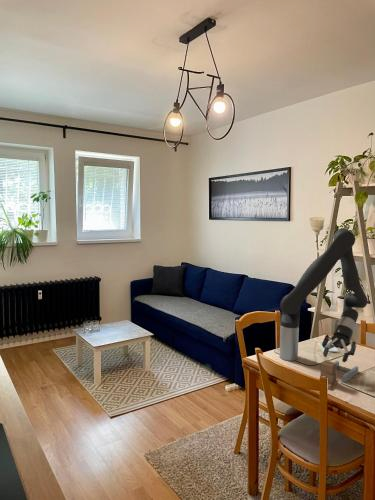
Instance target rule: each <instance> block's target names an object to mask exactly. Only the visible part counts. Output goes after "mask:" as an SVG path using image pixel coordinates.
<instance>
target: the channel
mask: <svg viewBox="0 0 375 500" xmlns="http://www.w3.org/2000/svg"><path fill="white" fill-rule="evenodd" d="M334 362H335V363H337V370H339V371H342V372H345V373H344V375H343V376H342V377H341V378H342V379H341V381H342V383H346V382H347V381H349V380H350V379H351V378H352V377H353V376H355V375H356V374H357V373H358V372H359V366H357V365H355V366H353V368H348V367H345V366H341V365H340V361H339V360H335V361H334ZM348 379H349V380H348Z"/></svg>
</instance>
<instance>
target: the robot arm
mask: <svg viewBox="0 0 375 500" xmlns="http://www.w3.org/2000/svg"><path fill="white" fill-rule="evenodd" d="M332 239H333V240H332V242H331V244H330V245H329V246H328V247H327V249H325V251H324V252H323V253H322V254H320V256H319V257H317V258H316V259H315V260H314V261H312V262H311V264H310V265H309V266H308V267H307V268H306V269H305V271H304V273H303V274H302V276H301V277H300V279H299V280H298V282H297V284H296V285H295V287H294V288H293V289H292V290H291V291H290V292H289V293H288V294H286V295H285V296H283V297H282V300H281V301H280V310H281V317H280V332H279V334H280V335H279V356H278V357H279V358H280V359H281V360H284V361H288V362H292V361H293V362H294V361H297V360H298V357H299V355H298V354H299V336H300V335H299V333H300V332H299V331H300V328H299V327H300V317H301V316H300V315H301V305H302V304H303V303H304V301H305V300H306V298H307V297H308V296H309V295H310V294H312V293H313V291H314V290H316V288H317V287H318V286H319V285H320V284H321V283H322V282H323V281H324V279H325V278H326V277H327V276H328V275H329V274H330V272H331V271H332V270H333V268H334V267H335V265H336V264H337V262H338V261H340V264H341V265H340V266H341V271H342V278H343V283H344V288H345V289H346V290H348V291H351V292H347V293H346V294H345V295H344V297H343V306H342V307H343V309H342V313H341V315H340V318H339V320H338V321H337V325H336V327H335V330H334V331H333V332H334V333H333V335H332V336H330V335H328V334H326V335H325V337H324V338H323V341H322V342H321V343H322V346H323V348H325V349H324V352H323V351H322V355H323V357H324V358H327V357H328V352H329V349H331V348H334V347H336V348H337V349H341V350H343V349H344V354H343V356H342V359H341V361H342V363H346V362H348V359H349V357H350V356H354V355H355V353H356V349H357V343H356V341H354V340H353V341H351V339H352V336H353V335H354V331H355V328H356V324H357V321H358V318H359V312H358V311H357V310H356V309H365V308H366V307H367V304H368V297H367V294H366V292H365V291H364V289H363V286H362V285H361V281H360V276H359V271H358V266H357V264H356V261H355V256H354V252H353V246H354V245H355V243H356V236H355V234H354V233H353V232H352V231H351V230H349V229H347V228H339V229H337V230H336V231H335V233H334V234H333V238H332ZM354 308H356V309H354ZM327 343H329V344H327ZM332 344H333V345H332ZM348 346H351V347H350V350H349V349H348V348H347V347H348Z"/></svg>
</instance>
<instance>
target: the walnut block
mask: <svg viewBox="0 0 375 500" xmlns="http://www.w3.org/2000/svg"><path fill="white" fill-rule="evenodd" d="M337 370H338V369H337V363H335V361H332V360H328V359H325V360H323V361H322V362H320V376H325V377H327V378H328V389H327V390H329V391H330V390H331V389H332V388H334V387H335V386H336V385H337V384H338V383H339V380H338V379H337Z"/></svg>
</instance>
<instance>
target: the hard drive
mask: <svg viewBox="0 0 375 500" xmlns="http://www.w3.org/2000/svg"><path fill="white" fill-rule="evenodd" d="M322 343H323V342H318V347H319V348H320V349H321V350H322V352H323V351H324V349H325V348H323V346H322ZM327 344H329V342H328V343H327ZM332 345H333V344H332ZM329 352H340V350H339V348H336V347H334V348H331V349H329Z"/></svg>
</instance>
